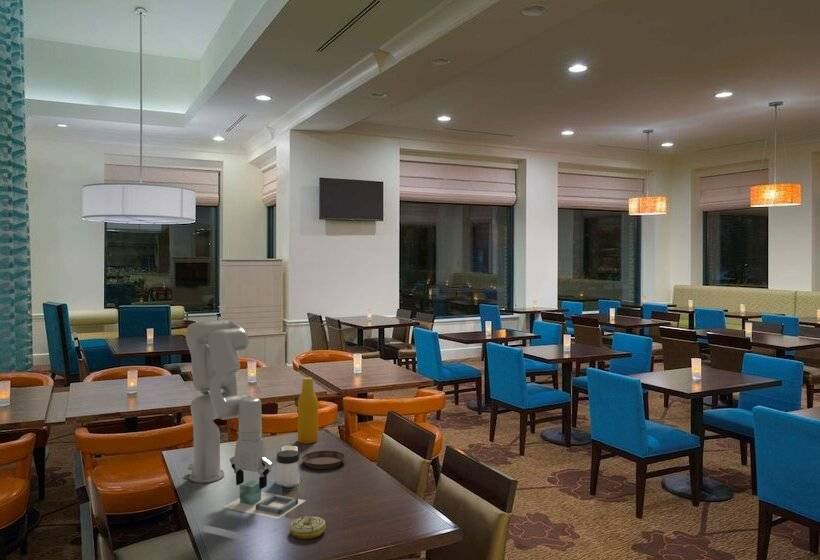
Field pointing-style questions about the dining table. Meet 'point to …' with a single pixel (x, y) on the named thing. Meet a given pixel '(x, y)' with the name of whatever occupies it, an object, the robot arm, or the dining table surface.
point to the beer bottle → (307, 413)
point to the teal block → (250, 492)
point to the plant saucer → (323, 459)
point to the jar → (287, 467)
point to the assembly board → (267, 505)
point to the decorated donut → (307, 527)
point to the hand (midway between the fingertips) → (251, 485)
